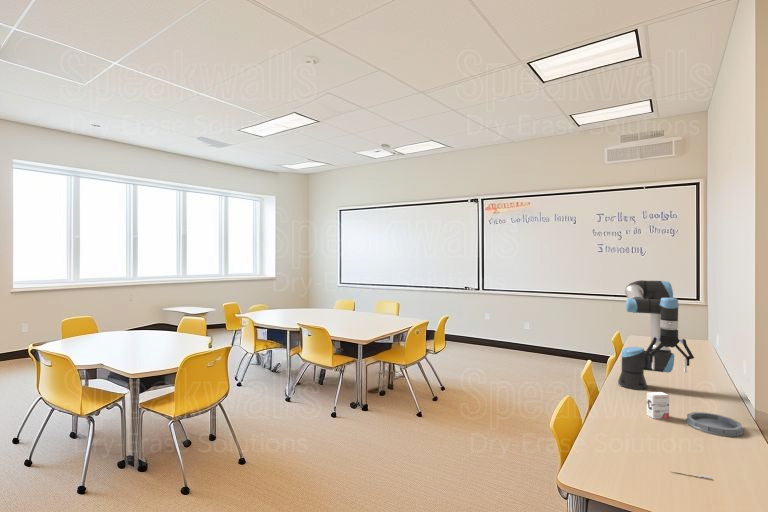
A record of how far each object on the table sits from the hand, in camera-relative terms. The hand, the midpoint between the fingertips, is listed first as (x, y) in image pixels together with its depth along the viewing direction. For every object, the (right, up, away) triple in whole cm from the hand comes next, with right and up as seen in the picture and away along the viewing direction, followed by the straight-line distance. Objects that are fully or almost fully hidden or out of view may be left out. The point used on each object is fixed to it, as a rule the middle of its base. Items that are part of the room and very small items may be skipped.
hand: (668, 370), depth 212 cm
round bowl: (+11, -22, -15) cm, 29 cm away
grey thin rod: (-31, -24, -57) cm, 69 cm away
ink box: (-8, -22, -3) cm, 24 cm away
